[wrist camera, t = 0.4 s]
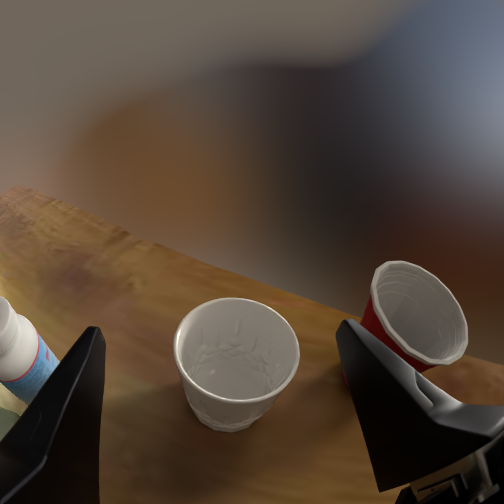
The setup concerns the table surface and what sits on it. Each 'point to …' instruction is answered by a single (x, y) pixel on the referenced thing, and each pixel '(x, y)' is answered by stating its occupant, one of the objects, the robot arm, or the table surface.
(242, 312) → the white cup
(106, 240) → the table surface
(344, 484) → the table surface
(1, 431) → the mat
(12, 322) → the pill bottle
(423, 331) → the plastic cup
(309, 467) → the table surface
